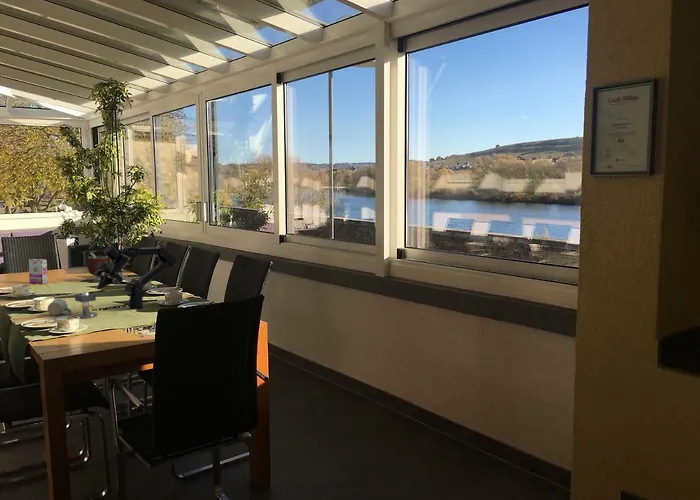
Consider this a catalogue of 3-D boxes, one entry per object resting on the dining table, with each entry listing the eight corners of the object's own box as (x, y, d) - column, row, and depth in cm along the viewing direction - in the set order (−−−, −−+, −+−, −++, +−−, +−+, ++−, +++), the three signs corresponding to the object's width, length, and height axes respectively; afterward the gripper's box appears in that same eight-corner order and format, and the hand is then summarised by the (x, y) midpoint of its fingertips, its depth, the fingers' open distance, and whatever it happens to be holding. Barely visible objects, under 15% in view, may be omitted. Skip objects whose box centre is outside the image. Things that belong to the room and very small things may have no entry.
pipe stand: (90, 313, 308) (89, 290, 307) (100, 315, 302) (99, 292, 301) (71, 316, 300) (70, 292, 299) (81, 319, 294) (80, 295, 293)
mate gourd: (113, 281, 418) (112, 252, 416) (96, 283, 406) (95, 254, 404) (99, 279, 426) (98, 251, 424) (82, 281, 415) (81, 252, 413)
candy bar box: (48, 283, 407) (47, 259, 405) (42, 284, 402) (41, 260, 400) (35, 282, 410) (34, 258, 408) (29, 283, 405) (28, 259, 404)
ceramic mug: (46, 316, 300) (46, 301, 299) (52, 313, 308) (51, 298, 307) (69, 316, 302) (68, 301, 301) (74, 313, 310) (73, 298, 309)
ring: (88, 298, 305) (88, 293, 305) (95, 300, 301) (95, 294, 301) (75, 300, 300) (74, 294, 300) (82, 302, 295) (81, 296, 295)
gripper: (97, 254, 314) (77, 277, 306) (116, 257, 302) (96, 280, 294) (111, 268, 320) (92, 290, 313) (131, 271, 309) (111, 294, 301)
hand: (97, 289), depth 305 cm, fingers closed
